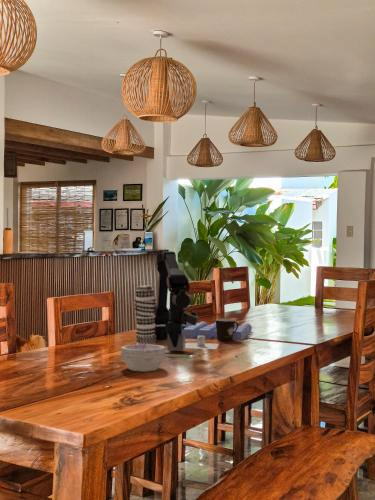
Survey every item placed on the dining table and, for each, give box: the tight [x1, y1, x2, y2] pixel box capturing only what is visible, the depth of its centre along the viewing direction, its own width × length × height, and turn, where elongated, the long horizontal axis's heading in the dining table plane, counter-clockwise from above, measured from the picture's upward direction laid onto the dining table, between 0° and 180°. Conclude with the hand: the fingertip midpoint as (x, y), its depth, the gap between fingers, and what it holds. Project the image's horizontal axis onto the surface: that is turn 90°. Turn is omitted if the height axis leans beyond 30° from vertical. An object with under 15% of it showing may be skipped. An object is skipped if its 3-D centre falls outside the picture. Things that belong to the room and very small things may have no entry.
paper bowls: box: [120, 343, 166, 373], centre depth 225 cm, size 15×15×8 cm
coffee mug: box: [215, 318, 239, 342], centre depth 287 cm, size 12×9×10 cm
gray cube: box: [167, 334, 186, 352], centre depth 255 cm, size 6×6×6 cm
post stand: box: [185, 336, 220, 350], centre depth 269 cm, size 14×14×5 cm
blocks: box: [168, 320, 253, 341], centre depth 312 cm, size 35×34×5 cm
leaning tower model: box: [133, 284, 157, 345], centre depth 278 cm, size 9×9×25 cm
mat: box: [165, 352, 192, 359], centre depth 255 cm, size 11×11×1 cm
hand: (176, 345), depth 255 cm, fingers closed on gray cube, 6 cm apart
